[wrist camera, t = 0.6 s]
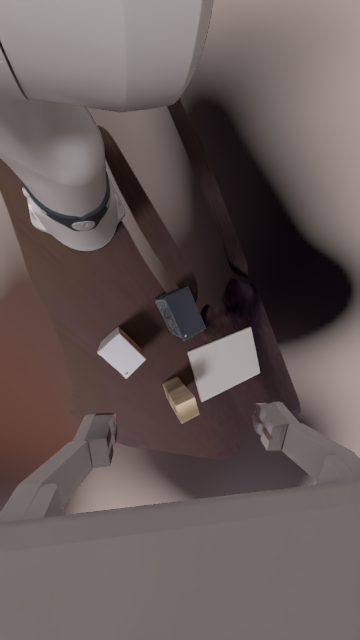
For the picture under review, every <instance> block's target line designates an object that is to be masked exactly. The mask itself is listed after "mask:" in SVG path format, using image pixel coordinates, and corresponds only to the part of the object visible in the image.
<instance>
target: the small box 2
mask: <svg viewBox="0 0 360 640" xmlns="http://www.w3.org/2000/svg"><path fill="white" fill-rule="evenodd" d="M154 301H155V303H156V305H157V307H158V310H159V312H160V314H161V316H162V318H163V321H164V323H165V325H166V327H167V329H168V331H169V333H170V334H172V335H174V336H176V337H178V338H180V339H182V340H184V341H185V340H187V339H188V338H190V337H192V336H193V335H195V334H197V333H199V332H200V331H202V330H204V329H206V327H205V325H204V322H203V320H202V318H201V315H200V313H199V311H198V308H197V306H196V303H195V301H194V299H193V296H192V294H191V291H190V289H189V287H184V288H180V289H175V290H172V291H170V292H167V293H165V294H163V295H161V296H159V297H157V298H155V299H154Z"/></svg>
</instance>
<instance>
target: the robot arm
mask: <svg viewBox="0 0 360 640" xmlns="http://www.w3.org/2000/svg"><path fill="white" fill-rule="evenodd" d="M212 7H213V0H0V159H2V160H3V161H4V162H5V163H6V164H7V165H8V166H9V167H10V168H11V169H12V170H13V171H14V172H15V173H16V175H17V176H18V177H19V178H20V179H21V182H22V184H23V186H24V188H22V190H23V193H24V195H25V197H27V200H28V206H29V212H30V218H31V222H32V224H33V225H34V227H36V228H37V229H39V230H41V231H44V232H46V233H49V234H51V235H52V236H54V237H55V238H56V239H57V240H59V241H60V242H61V243H63V244H64V245H66V246H68V247H70V248H73V249H76V250H81V251H92V250H96V249H99V248H101V247H103V246H105V245H106V244H107V243H109V242H110V240H111V239H112V238H113V236H114V234H115V231H116V228H117V225H118V223H119V222H120V221H121V220H122V219H123V217H124V216H125V209H124V207H123V205H122V203H121V201H120V199H119V197H118V195H117V193H116V191H115V189H114V187H113V185H112V183H111V181H110V179H109V177H108V175H107V172H106V166H105V150H104V144H103V139H102V136H101V133H100V131H99V129H98V126H97V124H96V122H95V121H94V119H93V117H92V115H91V114H90V112H89V111H88V109H87V108H86V107H88V108H96V109H102V110H109V111H116V112H127V111H136V110H145V109H152V108H157V107H163V106H168V105H172V104H174V103H175V102H176V101H177V100H178V99H179V98H180V96H181V95H182V93H183V92H184V91H185V89H186V87H187V85H188V84H189V82H190V80H191V79H192V76H193V74H194V72H195V70H196V68H197V65H198V63H199V59H200V57H201V54H202V51H203V47H204V44H205V40H206V37H207V33H208V28H209V24H210V18H211V13H212ZM118 206H119V207H118ZM254 410H255V411H256V412H255V413H254V414H253V418H252V421H253V426H254V429H255V430H256V432H257V433H258V434H259V435H261V441H262V443H263V445H264V446H265V448H266V450H267V451H274V450H282V451H283V452H284V453H285V454H286V455H287V456H288V457H290V458H291V459H292V460H293V461H294V462H295V463H297V464H298V465H299V466H300V467H301V468H303V469H304V470H305V471H306V472H307V473H308V474H310V475H311V476H312V477H313V478H314V479H315V480H316V481H317V484H316V485H311V486H303V487H295V488H286V489H278V490H270V491H261V492H253V493H245V494H237V495H228V496H221V497H212V498H203V499H195V500H187V501H178V502H170V503H161V504H153V505H144V506H136V507H128V508H120V509H111V510H103V511H94V512H86V513H78V514H69V515H65V513H64V509H63V506H64V505H65V503H66V502H67V501H68V500H69V498H70V497H71V496H72V494H73V493H74V492H75V491H76V489H77V488H78V487H79V485H80V484H81V483H82V482H83V480H84V479H85V478H86V477H87V475H88V474H89V473H90V472H91V470H92V468H97V467H105V466H110V464H111V460H112V456H113V446H114V445H115V444H116V439H117V424H116V423H115V421H116V414H115V413H101V414H87V415H86V416H85V417H84V419H83V421H82V423H81V425H80V427H79V429H78V431H77V433H76V435H75V438H74V440H73V442H69V443H68V444H66V445H65V446H64V447H63V448H62V449H61V450H59V451H58V452H57V453H56V454H55V455H53V456H52V457H51V458H50V459H49V460H48V461H46V462H45V463H44V464H43V465H42V466H41V467H39V468H38V469H37V470H36V471H34V472H33V473H32V474H31V475H30V476H29V477H27V478H26V479H25V480H24V481H23V482H21V483H20V484H19V485H18V486H17V487H16V489H15V491H14V493H13V494H12V495H11V497H10V499H9V500H8V502H7V503H6V505H5V507H4V508H3V510H2V512H1V513H0V640H360V458H359V457H358V456H357V455H356V454H355V453H353V452H352V451H350V450H349V449H347V448H345V447H343V446H341V445H340V444H338V443H336V442H334V441H333V440H331V439H329V438H327V437H326V436H324V435H322V434H320V433H318V432H317V431H315V430H313V429H311V428H310V427H308V426H306V425H304V424H300V423H299V422H298V421H297V420H296V418H295V417H294V416H293V415H292V414H291V413H290V411H289V410H288V409H287V408H286V407H285V406H284V404H283V403H281V402H272V403H271V402H270V403H257V404H255V406H254Z"/></svg>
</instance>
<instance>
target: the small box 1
mask: <svg viewBox="0 0 360 640" xmlns="http://www.w3.org/2000/svg"><path fill="white" fill-rule="evenodd" d="M97 353H98V354H99V355H100V356H101V357H103V358H104V359H105V360H106V361H107V362H108V363H109V364H111V365H112V366H113V367H114V368H115V369H116V370H117V371H118V372H119V373H121V374H122V375H123V376H124V377H125V379H127V378H128V377H129V376H130V375H131V374H132V373H133V372H134V371H135V370H136V369H137V368H138V367H139V366H140V365H141V364H142V363H143V362H144V361H145V360H146V358H145V356H144V354H143V352H142V350H141V348H140V347H139V346H138V345H137V344H136V343H134V342H133V341H132V340H131V339H130V338H129V337H128V336H127V334H126V333H125V332H124V331H123V330H122V329H121V328H120V327H117V328H116V329H115V330H114V331H113V332H112V333H110V334H109V335H108V336H107V337H106V338H105V339H104V340H103V341H102V342H101V344H100V346H99V349H98V352H97Z"/></svg>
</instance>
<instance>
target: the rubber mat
mask: <svg viewBox="0 0 360 640" xmlns="http://www.w3.org/2000/svg"><path fill="white" fill-rule="evenodd" d="M187 353H188V357H189V360H190V364H191V368H192V371H193V375H194V378H195V382H196V386H197V389H198V393H199V396H200V400H201V402H203V401H205V400H207V399H209V398H211V397H213V396H215V395H217V394H219V393H221V392H223V391H225V390H227V389H229V388H231V387H233V386H235V385H237V384H239V383H241V382H243V381H245V380H247V379H249V378H251V377H253V376H255V375H257V374H259V373H260V369H259V364H258V359H257V354H256V349H255V344H254V339H253V334H252V329H251V327H247V328H245V329H242V330H240V331H237V332H235V333H232V334H230V335H227V336H225V337H222V338H220V339H217V340H215V341H212V342H210V343H207V344H205V345H202V346H200V347H197V348H195V349H192V350H190V351H187Z"/></svg>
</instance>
